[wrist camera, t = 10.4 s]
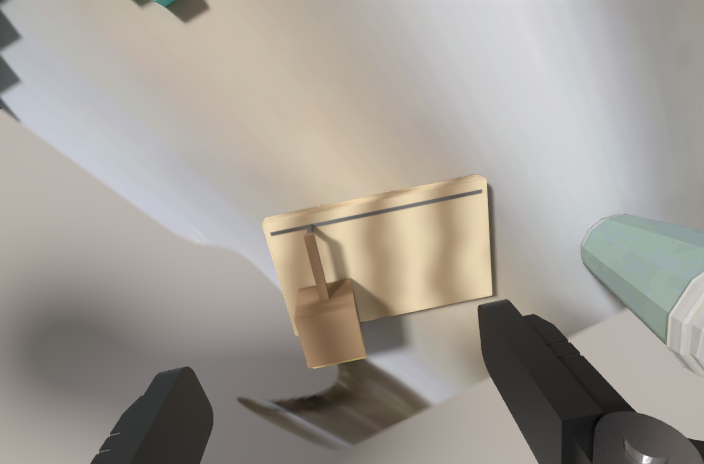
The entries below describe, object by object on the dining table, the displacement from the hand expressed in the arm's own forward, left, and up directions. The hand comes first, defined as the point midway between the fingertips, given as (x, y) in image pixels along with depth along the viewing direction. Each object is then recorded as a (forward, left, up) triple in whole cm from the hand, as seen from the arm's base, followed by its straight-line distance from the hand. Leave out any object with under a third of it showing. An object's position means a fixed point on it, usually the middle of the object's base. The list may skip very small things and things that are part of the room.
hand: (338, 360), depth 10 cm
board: (-4, +8, -24) cm, 25 cm away
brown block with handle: (+2, +10, -23) cm, 25 cm away
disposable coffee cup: (-27, +12, -24) cm, 38 cm away
